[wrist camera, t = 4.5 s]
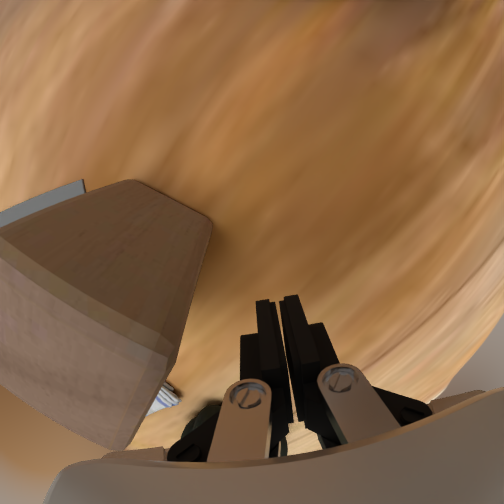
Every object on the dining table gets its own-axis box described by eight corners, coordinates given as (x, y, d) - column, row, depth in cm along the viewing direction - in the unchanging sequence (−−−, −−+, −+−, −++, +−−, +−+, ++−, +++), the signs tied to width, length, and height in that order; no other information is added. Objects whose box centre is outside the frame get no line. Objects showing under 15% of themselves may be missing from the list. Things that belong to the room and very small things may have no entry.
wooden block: (175, 299, 30) (123, 461, 12) (97, 257, 28) (-17, 376, 9) (217, 220, 28) (181, 363, 9) (129, 174, 26) (-30, 231, 7)
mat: (82, 179, 26) (81, 179, 25) (122, 312, 31) (121, 313, 31) (-5, 214, 26) (-6, 215, 26) (32, 318, 31) (31, 319, 31)
